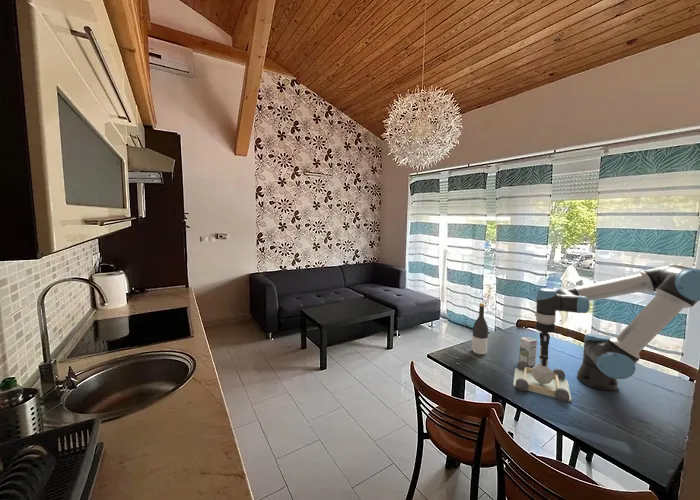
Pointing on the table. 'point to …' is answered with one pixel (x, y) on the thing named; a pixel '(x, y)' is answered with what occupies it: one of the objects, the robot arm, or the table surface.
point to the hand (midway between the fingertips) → (543, 366)
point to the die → (542, 375)
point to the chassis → (554, 388)
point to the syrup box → (528, 350)
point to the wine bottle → (480, 333)
